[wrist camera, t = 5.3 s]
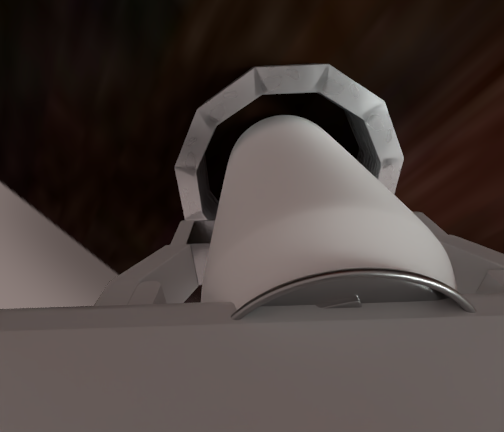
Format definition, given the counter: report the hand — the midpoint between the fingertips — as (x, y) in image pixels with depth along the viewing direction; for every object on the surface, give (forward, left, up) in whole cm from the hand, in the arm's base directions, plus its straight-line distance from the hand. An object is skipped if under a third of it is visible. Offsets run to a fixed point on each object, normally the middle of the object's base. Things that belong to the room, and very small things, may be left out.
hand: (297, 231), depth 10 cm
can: (0, 0, -7) cm, 7 cm away
